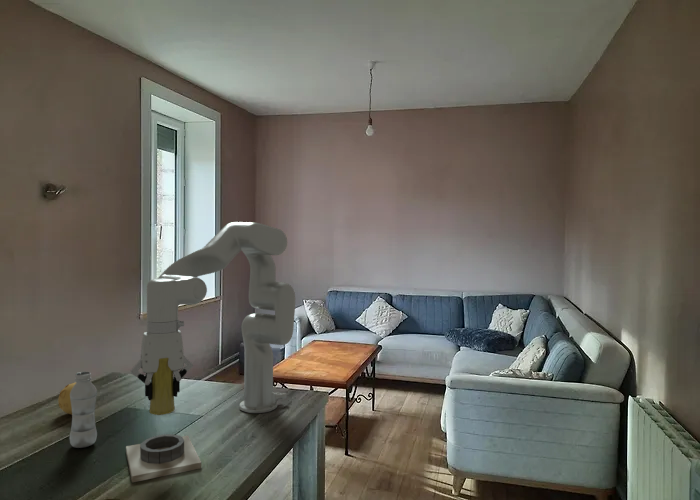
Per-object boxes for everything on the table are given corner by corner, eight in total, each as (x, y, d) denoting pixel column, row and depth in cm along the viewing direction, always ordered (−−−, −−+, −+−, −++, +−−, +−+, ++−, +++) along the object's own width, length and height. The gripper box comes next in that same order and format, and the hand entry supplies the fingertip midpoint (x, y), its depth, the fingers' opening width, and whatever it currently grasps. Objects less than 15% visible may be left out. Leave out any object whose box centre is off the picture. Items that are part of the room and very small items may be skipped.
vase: (166, 416, 125) (166, 359, 124) (144, 414, 126) (144, 358, 126) (179, 407, 131) (179, 353, 130) (158, 405, 132) (158, 352, 132)
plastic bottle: (76, 440, 140) (75, 370, 139) (101, 440, 140) (100, 370, 139) (64, 451, 133) (64, 377, 132) (91, 450, 134) (90, 376, 133)
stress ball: (97, 413, 163) (89, 388, 168) (96, 397, 156) (88, 371, 162) (62, 425, 157) (55, 398, 162) (60, 408, 151) (53, 382, 156)
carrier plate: (188, 440, 141) (188, 425, 141) (201, 468, 125) (201, 450, 125) (126, 451, 133) (126, 435, 133) (131, 482, 118) (131, 463, 117)
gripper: (194, 322, 135) (193, 388, 136) (124, 327, 127) (124, 397, 128) (199, 327, 129) (199, 396, 129) (127, 332, 120) (127, 406, 121)
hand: (162, 396), depth 129 cm, fingers closed on vase, 5 cm apart
